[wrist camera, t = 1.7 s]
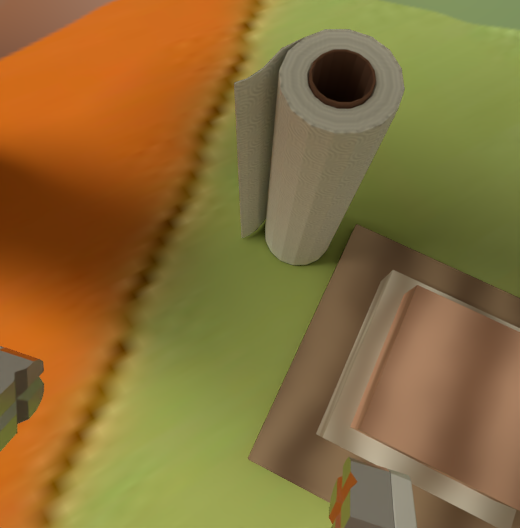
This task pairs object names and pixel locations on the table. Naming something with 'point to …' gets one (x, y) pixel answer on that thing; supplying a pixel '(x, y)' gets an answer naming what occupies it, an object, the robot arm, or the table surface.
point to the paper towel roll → (311, 137)
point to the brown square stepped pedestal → (406, 387)
